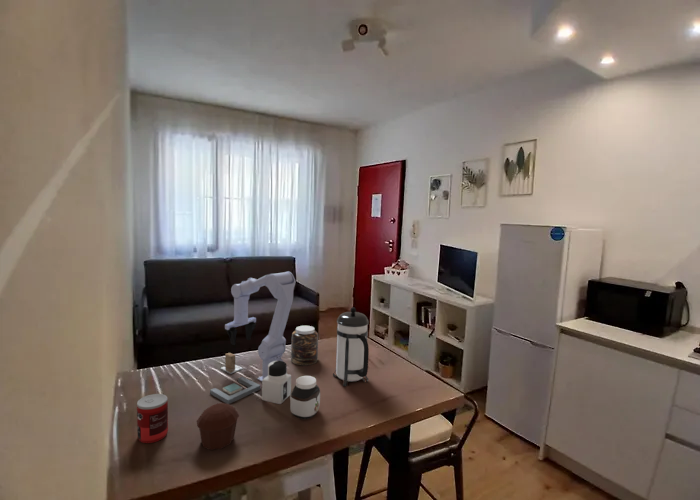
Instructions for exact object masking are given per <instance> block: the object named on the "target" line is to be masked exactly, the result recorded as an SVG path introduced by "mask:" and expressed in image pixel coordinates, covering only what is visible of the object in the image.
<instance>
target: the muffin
mask: <svg viewBox="0 0 700 500" xmlns="http://www.w3.org/2000/svg"><path fill="white" fill-rule="evenodd" d="M239 417H240V415H239V412H238V410H237V408H235V407H234V406H233V405H231V403H230V404H227V403H225V402H219V403H214V404H212V405H210V406H209V407H207V408H205V409H204V410H203V411H202V413H201V415H200V416H199V417H198V418H197V420H196V427H197V428H198V429H199V435H200V439H201V442H202V443H201V444H202V448H205V449H208V450H210V451H212V450H213V451H214V450H221V449H223V448H224V447H227V446H229V445H231V443H232V442H233V440H234V438H235V434H236V427H237V423H238V418H239Z"/></svg>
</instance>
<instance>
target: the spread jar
mask: <svg viewBox="0 0 700 500" xmlns="http://www.w3.org/2000/svg"><path fill="white" fill-rule="evenodd" d="M289 399H290V404H289V405H290V413H291V414H292V415H293V416H294V417H296V418H297V419H300V420H309V419H312V418H314V417H315V416H316V415H317V413H318V411H319V408H320V404H321V389H320V387H319V386H318V384H317V378H315V376H311V375H303V376H302V375H301V376H299V377H297V378H296V379H295V386H294V387H293V389H292V390H291V395H290V396H289Z"/></svg>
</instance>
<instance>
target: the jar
mask: <svg viewBox="0 0 700 500" xmlns="http://www.w3.org/2000/svg"><path fill="white" fill-rule="evenodd" d="M290 345H291V352H290V354H291V355H290V358H291V359H290V361H291V362H292V363H293V364H294V365H298V366H310V365H311V366H312V365H314V364H317V362H318V359H319V357H318V355H319V354H318V353H319V334H318V332H317V331H316V330H315V327H314V326H312V325H311V326H310V325H300V326H296V328H295V330H294V331H293V332H292V333H291V344H290Z"/></svg>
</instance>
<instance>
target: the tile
mask: <svg viewBox="0 0 700 500" xmlns="http://www.w3.org/2000/svg"><path fill="white" fill-rule="evenodd" d="M242 390H243V387H242V386H240V385H238V384H237V383H235V382H234V383H231V384H229V385H226V386H224V387H222V392H224V393H226V394H227V395H229V396H231V395H233V394H235V393H238V392H240V391H242Z"/></svg>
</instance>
